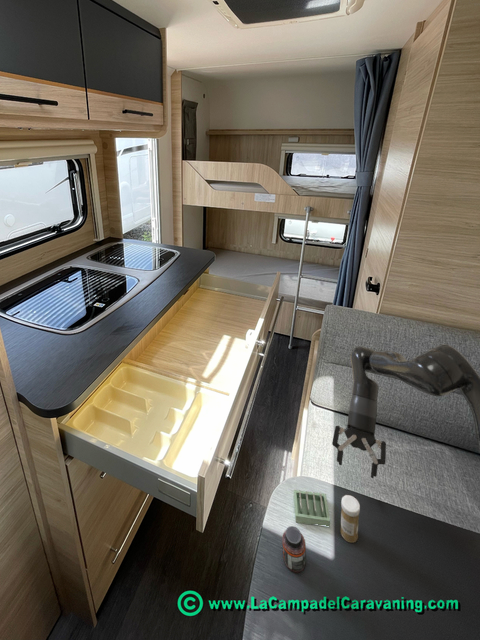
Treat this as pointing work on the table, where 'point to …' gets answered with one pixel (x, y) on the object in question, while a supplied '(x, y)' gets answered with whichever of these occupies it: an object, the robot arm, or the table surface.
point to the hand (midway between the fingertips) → (355, 470)
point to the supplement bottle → (294, 549)
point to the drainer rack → (313, 504)
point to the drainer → (311, 509)
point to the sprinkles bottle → (349, 518)
